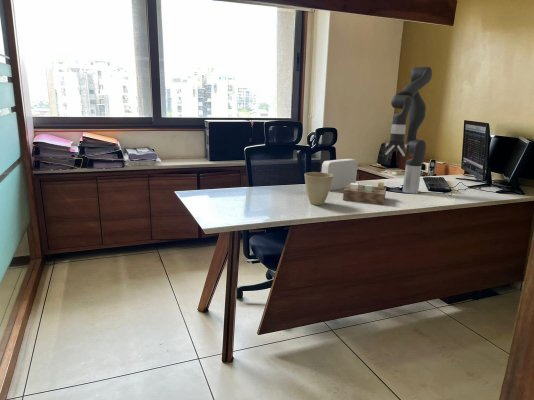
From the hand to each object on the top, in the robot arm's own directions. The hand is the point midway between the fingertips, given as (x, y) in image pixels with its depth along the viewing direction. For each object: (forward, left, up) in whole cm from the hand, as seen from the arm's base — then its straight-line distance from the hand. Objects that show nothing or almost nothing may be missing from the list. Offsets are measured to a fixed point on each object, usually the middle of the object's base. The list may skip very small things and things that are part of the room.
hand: (394, 162), depth 212 cm
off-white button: (+20, +9, -18) cm, 28 cm away
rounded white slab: (+33, -18, -22) cm, 44 cm away
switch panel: (+14, +5, -22) cm, 26 cm away
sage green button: (+12, +9, -18) cm, 23 cm away
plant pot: (+37, +28, -22) cm, 51 cm away
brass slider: (+6, 0, -16) cm, 17 cm away
